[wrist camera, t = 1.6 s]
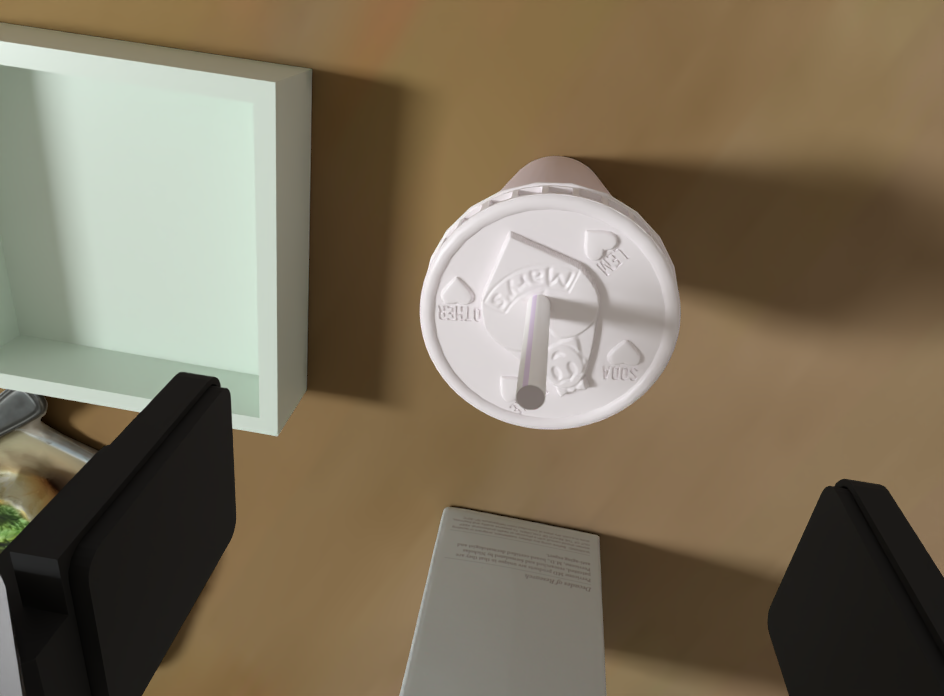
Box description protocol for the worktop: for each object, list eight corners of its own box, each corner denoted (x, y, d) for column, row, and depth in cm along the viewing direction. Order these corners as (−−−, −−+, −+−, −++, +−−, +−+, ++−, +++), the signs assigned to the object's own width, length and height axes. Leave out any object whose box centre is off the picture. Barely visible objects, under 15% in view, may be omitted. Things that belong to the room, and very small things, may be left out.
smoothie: (613, 85, 24) (661, 206, 11) (667, 257, 26) (755, 510, 14) (438, 156, 26) (316, 328, 13) (504, 312, 28) (454, 578, 16)
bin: (312, 68, 25) (275, 82, 22) (306, 390, 31) (277, 436, 28) (-49, 15, 25) (-135, 20, 22) (16, 340, 31) (-44, 380, 28)
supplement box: (442, 500, 33) (377, 772, 22) (603, 532, 32) (621, 824, 21) (423, 613, 36) (358, 897, 25) (569, 642, 36) (569, 943, 25)
